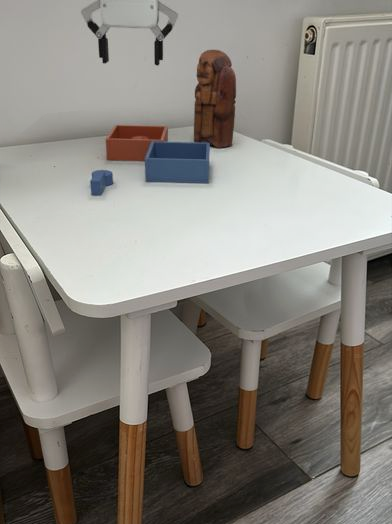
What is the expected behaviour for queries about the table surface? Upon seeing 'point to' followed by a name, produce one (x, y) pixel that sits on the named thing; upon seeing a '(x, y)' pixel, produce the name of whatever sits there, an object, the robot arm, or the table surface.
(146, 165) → the blue bin
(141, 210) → the table surface
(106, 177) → the blue curved block
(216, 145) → the wooden figurine
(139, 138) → the red curved block
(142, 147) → the red bin
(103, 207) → the table surface
